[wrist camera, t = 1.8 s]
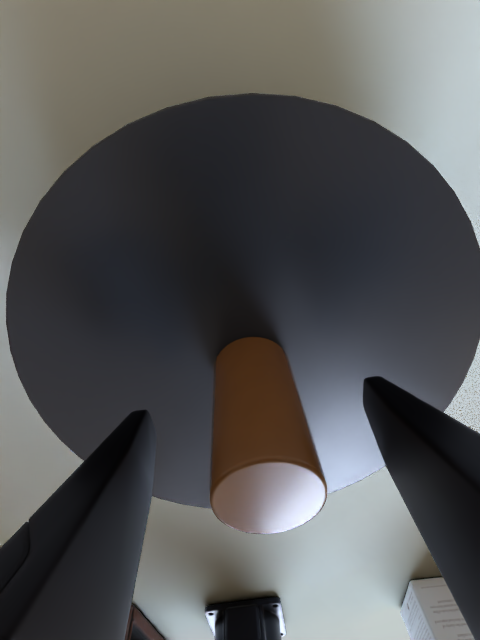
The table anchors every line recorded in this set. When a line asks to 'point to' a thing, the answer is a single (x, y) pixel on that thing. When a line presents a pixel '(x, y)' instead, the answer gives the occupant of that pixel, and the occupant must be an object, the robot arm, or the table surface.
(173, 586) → the table surface
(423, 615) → the small box
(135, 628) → the letter holder
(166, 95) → the table surface
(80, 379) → the lid
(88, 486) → the robot arm
